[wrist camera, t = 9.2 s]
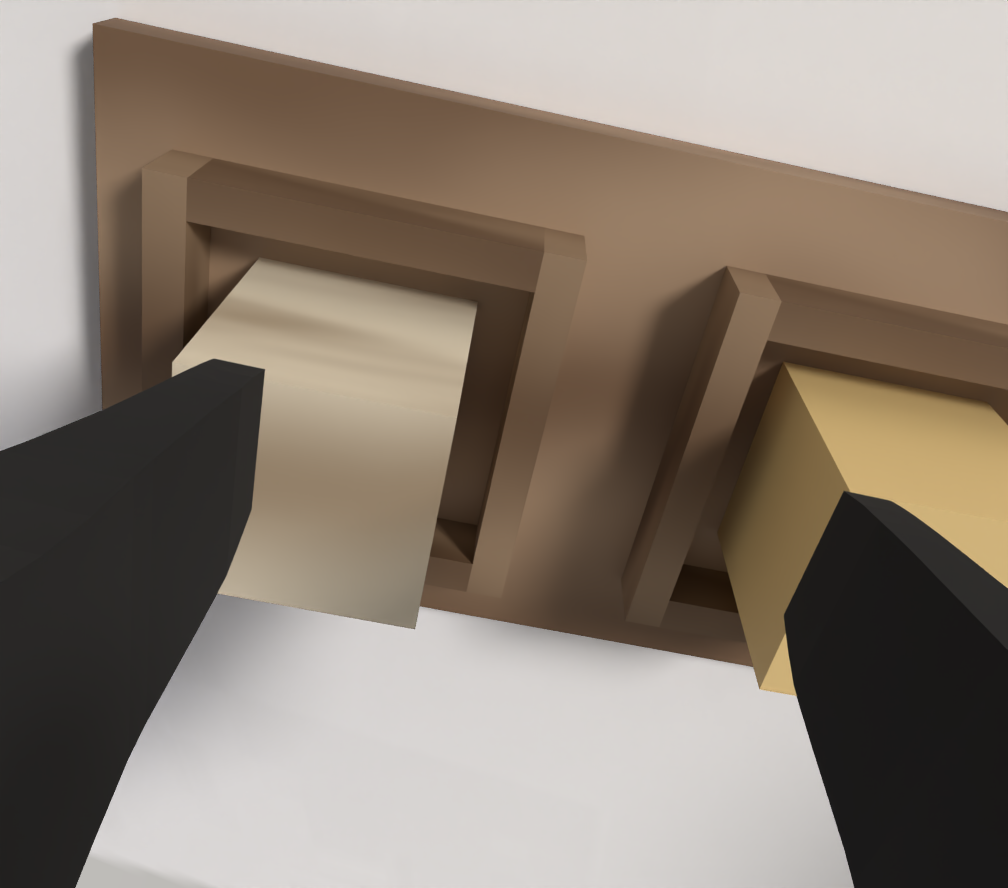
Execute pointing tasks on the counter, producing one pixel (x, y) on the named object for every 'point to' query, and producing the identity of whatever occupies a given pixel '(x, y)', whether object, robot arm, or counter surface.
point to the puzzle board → (500, 328)
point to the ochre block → (855, 487)
